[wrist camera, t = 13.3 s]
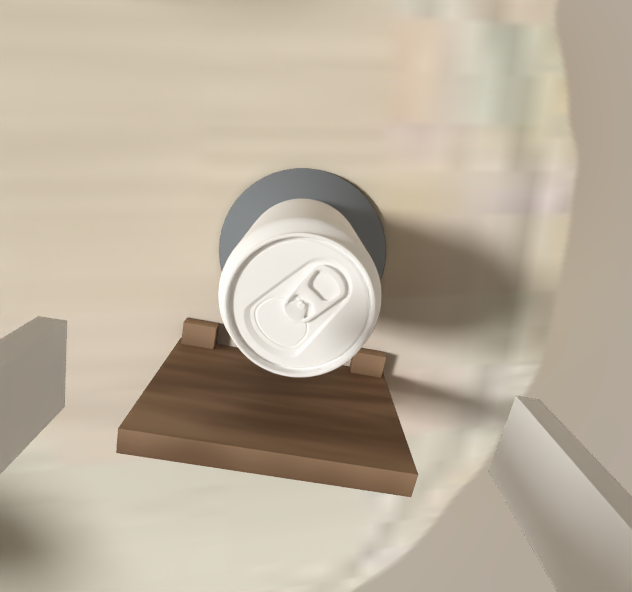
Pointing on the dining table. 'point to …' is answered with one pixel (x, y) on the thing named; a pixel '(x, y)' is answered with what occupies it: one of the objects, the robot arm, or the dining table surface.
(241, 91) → the dining table surface
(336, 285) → the beverage can
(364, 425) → the screen
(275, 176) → the pad
